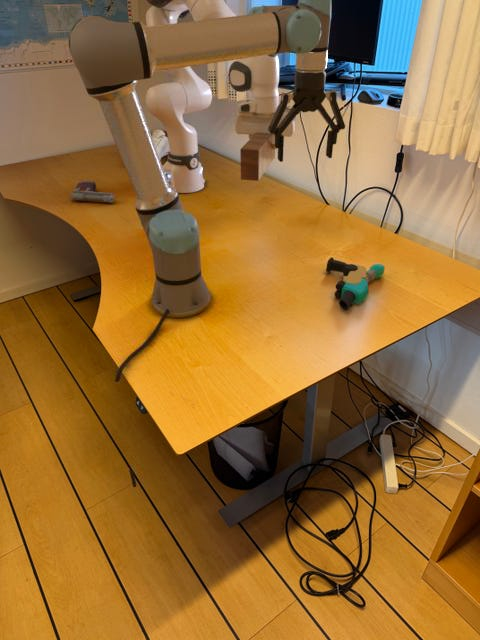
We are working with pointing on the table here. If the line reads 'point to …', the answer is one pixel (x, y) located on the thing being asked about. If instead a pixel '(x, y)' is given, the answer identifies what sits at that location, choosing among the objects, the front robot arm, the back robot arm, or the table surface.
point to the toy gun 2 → (353, 281)
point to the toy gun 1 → (90, 193)
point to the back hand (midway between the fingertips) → (264, 148)
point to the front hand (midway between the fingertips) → (304, 158)
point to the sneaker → (161, 142)
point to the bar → (257, 156)
